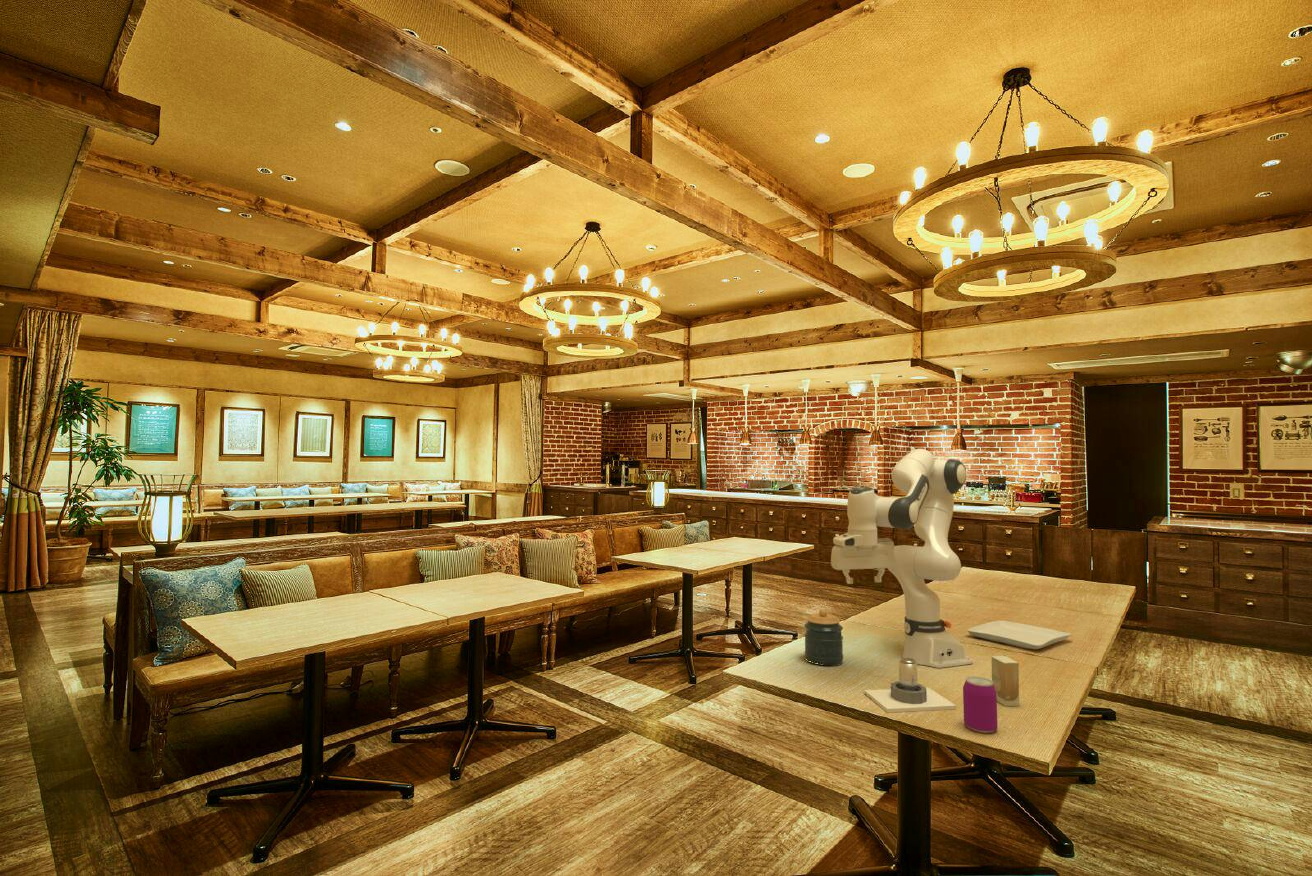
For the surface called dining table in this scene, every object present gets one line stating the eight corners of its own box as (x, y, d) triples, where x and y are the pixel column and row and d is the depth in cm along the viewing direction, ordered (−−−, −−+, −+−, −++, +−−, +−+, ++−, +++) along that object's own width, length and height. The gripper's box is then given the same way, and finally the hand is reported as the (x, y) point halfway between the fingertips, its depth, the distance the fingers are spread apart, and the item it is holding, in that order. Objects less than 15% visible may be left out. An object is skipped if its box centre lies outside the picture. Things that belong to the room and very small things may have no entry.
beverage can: (993, 737, 151) (992, 688, 151) (960, 728, 156) (958, 681, 157) (1001, 727, 157) (999, 680, 157) (968, 719, 162) (967, 673, 162)
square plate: (1072, 642, 233) (1072, 632, 233) (1039, 655, 217) (1039, 644, 217) (999, 627, 255) (999, 618, 255) (965, 638, 240) (964, 628, 240)
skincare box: (991, 698, 176) (990, 655, 177) (1005, 697, 177) (1004, 655, 177) (1005, 707, 170) (1004, 662, 170) (1020, 706, 170) (1019, 662, 171)
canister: (800, 663, 208) (799, 611, 209) (809, 653, 219) (808, 603, 220) (839, 669, 202) (838, 615, 203) (846, 658, 213) (845, 607, 214)
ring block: (927, 690, 182) (927, 677, 182) (956, 709, 168) (955, 694, 169) (864, 693, 180) (864, 680, 180) (887, 712, 166) (887, 697, 166)
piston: (912, 694, 177) (911, 657, 177) (921, 700, 172) (920, 662, 173) (896, 694, 176) (895, 657, 177) (905, 701, 172) (904, 663, 172)
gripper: (888, 536, 197) (889, 579, 196) (828, 538, 194) (829, 582, 193) (898, 539, 190) (900, 583, 190) (836, 541, 188) (837, 586, 187)
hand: (863, 582), depth 192 cm, fingers open, 8 cm apart
